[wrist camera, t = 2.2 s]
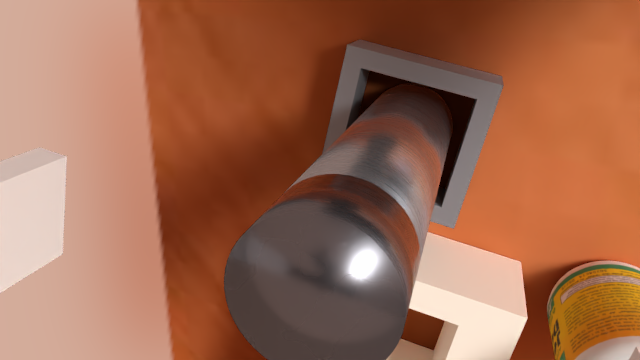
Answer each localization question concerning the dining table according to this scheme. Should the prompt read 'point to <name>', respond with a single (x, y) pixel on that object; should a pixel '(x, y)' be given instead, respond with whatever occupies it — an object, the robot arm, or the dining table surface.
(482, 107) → the stand collar
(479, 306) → the socket block
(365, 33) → the dining table surface
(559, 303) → the supplement bottle
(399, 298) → the steel pin
